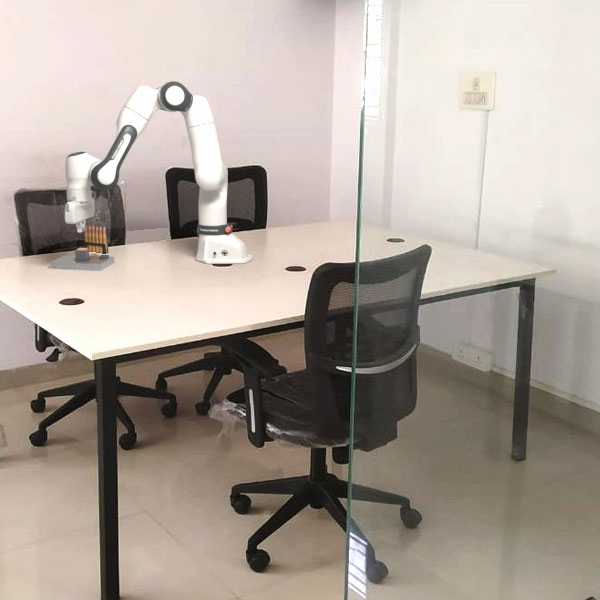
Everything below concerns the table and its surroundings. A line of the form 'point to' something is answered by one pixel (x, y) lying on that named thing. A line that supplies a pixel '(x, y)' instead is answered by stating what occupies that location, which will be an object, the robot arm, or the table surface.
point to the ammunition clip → (96, 240)
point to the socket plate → (82, 263)
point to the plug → (82, 254)
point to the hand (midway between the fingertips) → (81, 232)
